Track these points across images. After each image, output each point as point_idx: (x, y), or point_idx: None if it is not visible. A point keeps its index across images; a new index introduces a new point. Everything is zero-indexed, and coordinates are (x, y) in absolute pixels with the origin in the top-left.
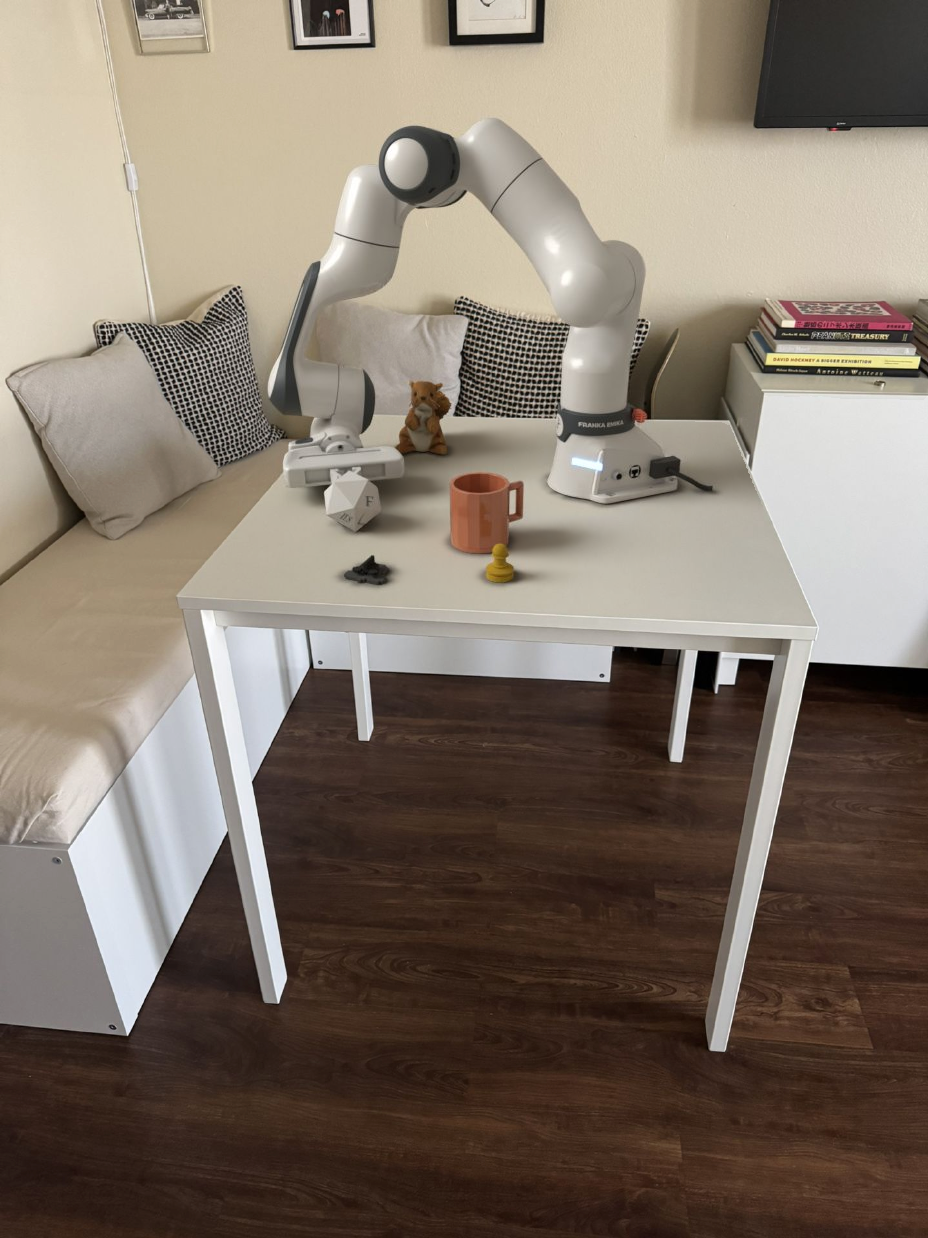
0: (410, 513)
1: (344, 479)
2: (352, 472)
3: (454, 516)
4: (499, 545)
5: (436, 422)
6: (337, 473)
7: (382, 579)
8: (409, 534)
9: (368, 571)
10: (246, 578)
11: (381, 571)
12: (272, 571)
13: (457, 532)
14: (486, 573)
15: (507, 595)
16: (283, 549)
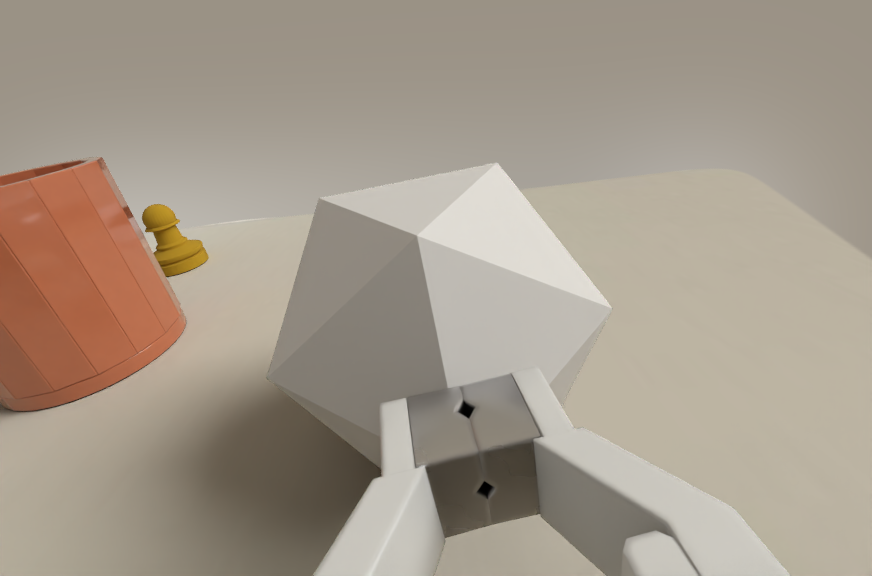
0: (154, 547)
1: (444, 181)
2: (394, 223)
3: (143, 241)
4: (156, 204)
5: None
6: (600, 464)
7: None
8: (264, 367)
9: None
10: (664, 199)
11: None
12: (622, 216)
13: (164, 275)
14: (203, 253)
15: (210, 239)
16: (659, 268)
